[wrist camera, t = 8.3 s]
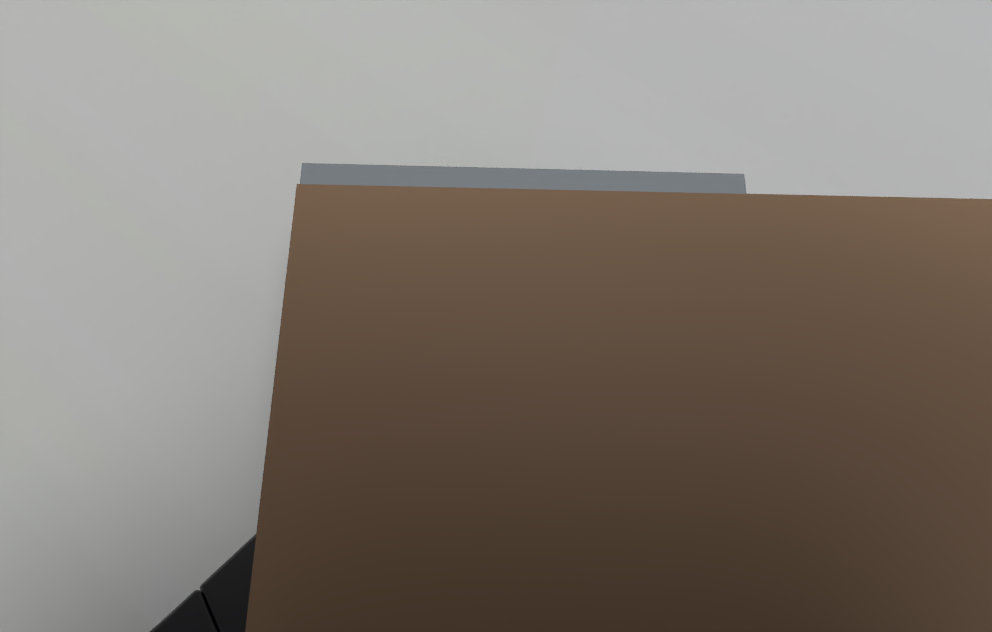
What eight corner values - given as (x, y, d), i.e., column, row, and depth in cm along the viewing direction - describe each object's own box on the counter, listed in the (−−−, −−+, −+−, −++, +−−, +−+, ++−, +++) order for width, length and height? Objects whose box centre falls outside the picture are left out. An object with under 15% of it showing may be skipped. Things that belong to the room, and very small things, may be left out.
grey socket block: (748, 982, 14) (866, 1163, 10) (274, 988, 14) (188, 1176, 10) (684, 257, 19) (744, 174, 15) (339, 250, 19) (302, 163, 15)
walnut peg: (616, 669, 14) (1260, 1144, 3) (421, 669, 14) (181, 1160, 3) (607, 472, 16) (1007, 199, 4) (429, 469, 16) (298, 183, 4)
